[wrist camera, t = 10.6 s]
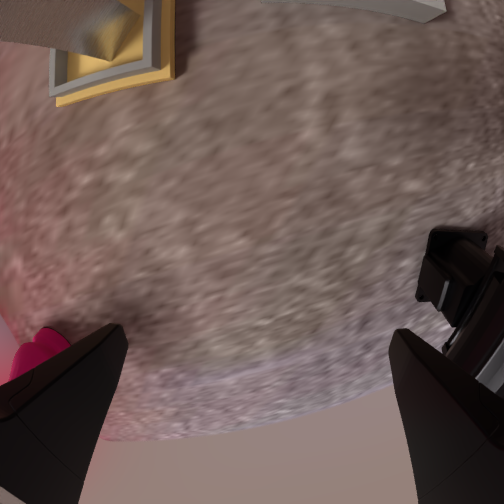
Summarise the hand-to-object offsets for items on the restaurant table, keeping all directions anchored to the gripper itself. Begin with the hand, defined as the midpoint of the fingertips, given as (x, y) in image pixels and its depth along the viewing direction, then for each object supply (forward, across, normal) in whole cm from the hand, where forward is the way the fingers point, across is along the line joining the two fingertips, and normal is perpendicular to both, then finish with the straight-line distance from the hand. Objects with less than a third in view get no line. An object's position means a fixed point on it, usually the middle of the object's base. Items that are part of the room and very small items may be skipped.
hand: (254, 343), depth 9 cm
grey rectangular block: (+12, +11, -15) cm, 22 cm away
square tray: (+13, +11, -15) cm, 23 cm away
